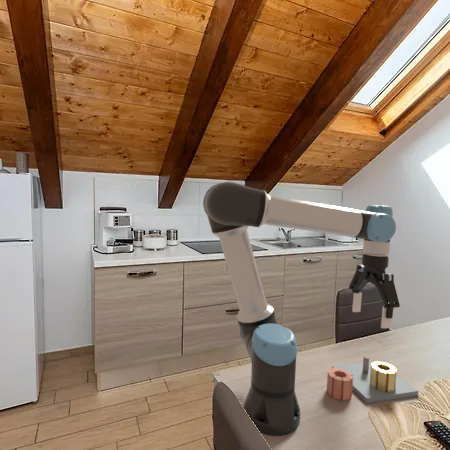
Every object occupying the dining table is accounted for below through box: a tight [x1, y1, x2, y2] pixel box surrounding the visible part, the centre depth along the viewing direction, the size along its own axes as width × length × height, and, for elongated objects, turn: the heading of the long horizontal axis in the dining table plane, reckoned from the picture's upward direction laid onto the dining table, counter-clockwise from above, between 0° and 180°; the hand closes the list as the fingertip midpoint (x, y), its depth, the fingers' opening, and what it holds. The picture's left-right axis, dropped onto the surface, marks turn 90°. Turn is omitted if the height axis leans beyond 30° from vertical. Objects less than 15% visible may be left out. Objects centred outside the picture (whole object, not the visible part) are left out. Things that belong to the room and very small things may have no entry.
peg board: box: [331, 355, 419, 404], centre depth 103 cm, size 18×18×6 cm
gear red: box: [326, 367, 353, 401], centre depth 97 cm, size 7×7×6 cm
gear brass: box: [370, 360, 398, 393], centre depth 99 cm, size 7×7×6 cm
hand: (369, 319), depth 103 cm, fingers open, 13 cm apart
